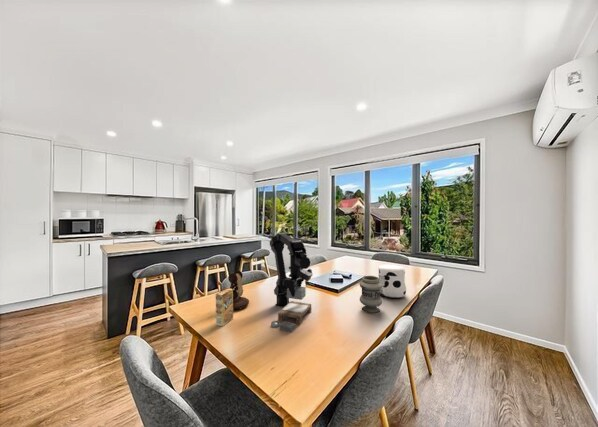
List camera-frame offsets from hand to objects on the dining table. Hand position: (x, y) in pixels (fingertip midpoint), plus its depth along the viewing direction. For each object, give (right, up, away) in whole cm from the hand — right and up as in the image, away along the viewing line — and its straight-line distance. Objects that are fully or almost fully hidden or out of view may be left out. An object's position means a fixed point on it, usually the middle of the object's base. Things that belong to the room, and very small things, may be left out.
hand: (295, 294), depth 122 cm
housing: (0, -1, 0) cm, 1 cm away
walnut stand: (0, -11, 0) cm, 11 cm away
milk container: (+61, -11, +28) cm, 68 cm away
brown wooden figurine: (-35, -12, +13) cm, 39 cm away
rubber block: (-4, -12, -13) cm, 18 cm away
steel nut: (-10, -12, -10) cm, 18 cm away
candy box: (-35, -12, -6) cm, 38 cm away
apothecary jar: (+41, -11, +6) cm, 43 cm away
